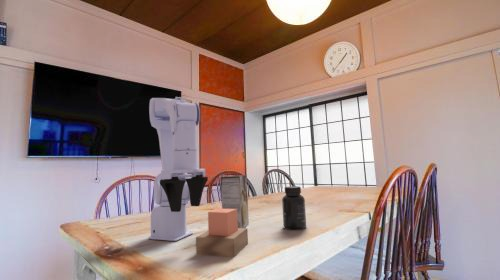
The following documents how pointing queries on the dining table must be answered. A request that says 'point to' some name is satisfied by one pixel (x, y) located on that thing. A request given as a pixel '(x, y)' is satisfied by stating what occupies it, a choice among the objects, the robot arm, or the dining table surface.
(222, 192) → the coffee box
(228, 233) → the red cube
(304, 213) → the supplement bottle
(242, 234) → the walnut block
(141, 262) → the dining table surface
